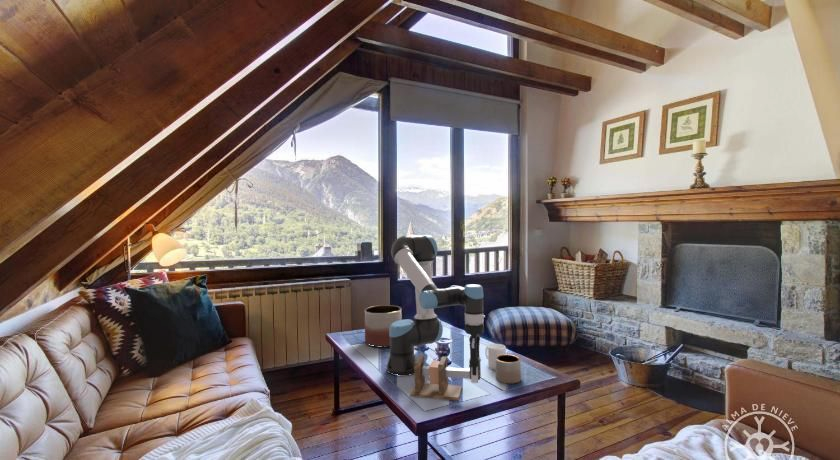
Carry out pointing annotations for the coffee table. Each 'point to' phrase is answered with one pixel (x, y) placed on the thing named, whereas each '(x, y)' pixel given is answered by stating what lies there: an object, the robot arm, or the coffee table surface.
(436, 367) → the spacer
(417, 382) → the bracket
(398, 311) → the planter
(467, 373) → the hammer
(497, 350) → the cup
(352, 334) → the coffee table surface
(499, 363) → the planter
